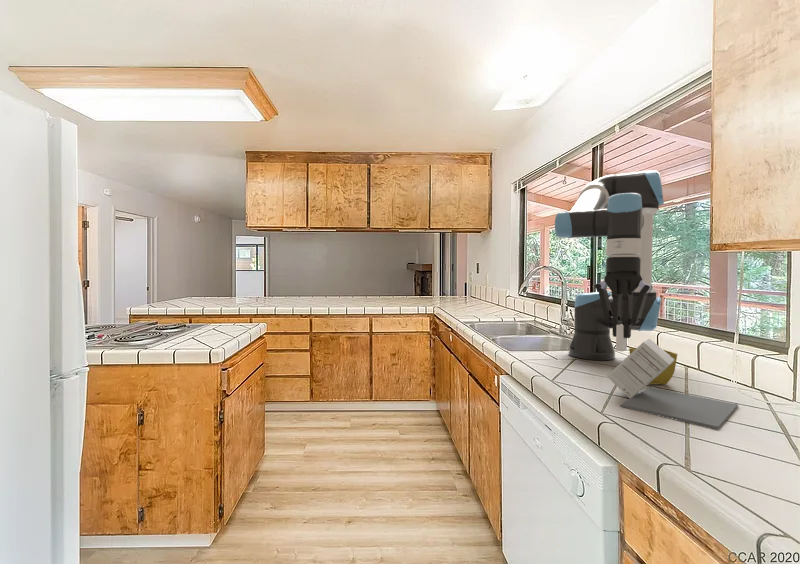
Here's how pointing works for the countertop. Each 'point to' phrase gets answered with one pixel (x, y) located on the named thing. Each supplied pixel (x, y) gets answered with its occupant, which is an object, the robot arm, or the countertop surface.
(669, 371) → the flower pot
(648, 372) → the supplement box
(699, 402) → the mat
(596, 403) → the countertop surface
